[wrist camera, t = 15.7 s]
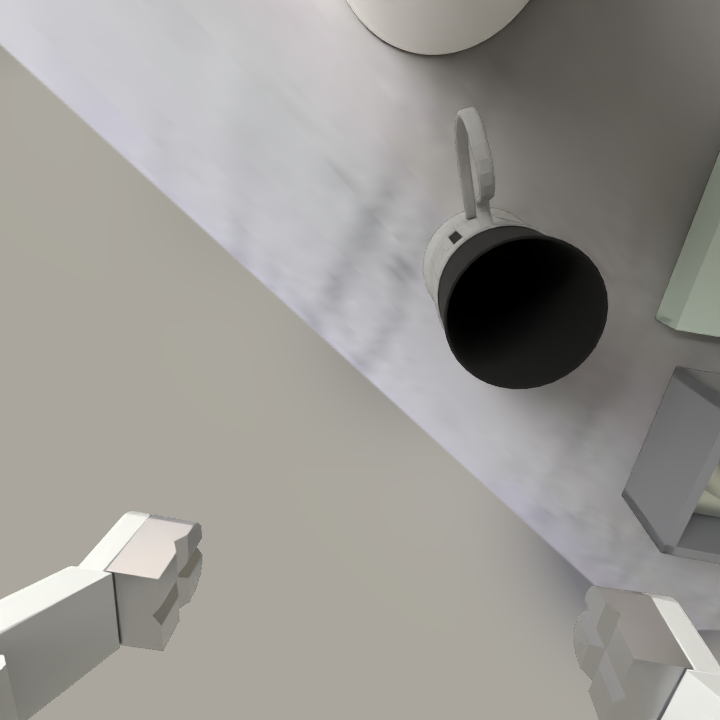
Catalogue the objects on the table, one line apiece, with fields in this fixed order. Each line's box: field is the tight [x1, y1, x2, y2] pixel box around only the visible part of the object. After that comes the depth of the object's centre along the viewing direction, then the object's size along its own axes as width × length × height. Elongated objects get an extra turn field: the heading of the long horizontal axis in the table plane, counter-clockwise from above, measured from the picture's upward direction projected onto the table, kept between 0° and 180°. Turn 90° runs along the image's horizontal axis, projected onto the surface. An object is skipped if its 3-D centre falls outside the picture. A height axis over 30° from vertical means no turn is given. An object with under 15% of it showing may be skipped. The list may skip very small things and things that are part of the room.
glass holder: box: [423, 107, 608, 389], centre depth 28 cm, size 9×14×15 cm, turn 18°
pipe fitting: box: [693, 459, 720, 517], centre depth 38 cm, size 8×4×7 cm
